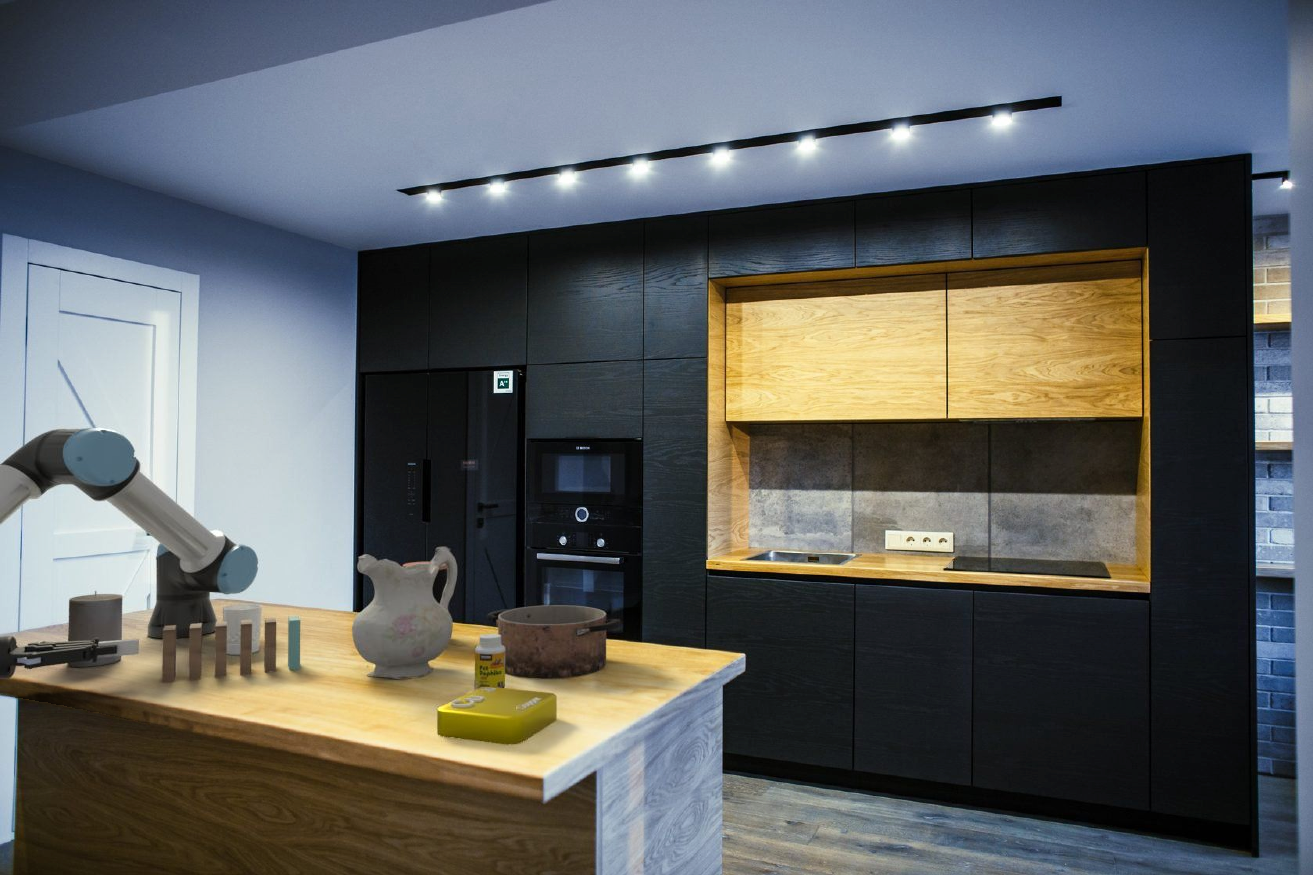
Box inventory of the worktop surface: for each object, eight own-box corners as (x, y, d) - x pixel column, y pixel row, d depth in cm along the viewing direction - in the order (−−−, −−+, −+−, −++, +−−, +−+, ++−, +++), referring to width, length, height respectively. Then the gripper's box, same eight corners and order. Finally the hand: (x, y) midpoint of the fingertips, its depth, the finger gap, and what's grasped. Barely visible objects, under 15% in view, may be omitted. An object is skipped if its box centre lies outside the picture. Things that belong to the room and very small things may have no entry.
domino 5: (264, 667, 179) (264, 618, 179) (274, 665, 179) (275, 617, 180) (265, 672, 174) (265, 622, 174) (275, 671, 175) (276, 621, 175)
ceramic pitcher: (416, 660, 189) (410, 546, 191) (483, 664, 179) (476, 543, 181) (333, 683, 170) (327, 556, 172) (403, 688, 161) (396, 554, 162)
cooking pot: (640, 661, 184) (640, 611, 184) (588, 687, 164) (588, 630, 164) (522, 648, 197) (522, 601, 197) (460, 670, 176) (460, 617, 177)
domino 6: (287, 664, 181) (288, 616, 181) (298, 663, 181) (298, 615, 182) (289, 670, 176) (289, 620, 176) (299, 668, 177) (300, 619, 177)
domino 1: (164, 676, 171) (164, 625, 171) (175, 675, 172) (176, 624, 172) (162, 682, 166) (162, 630, 166) (174, 681, 167) (174, 629, 167)
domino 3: (215, 671, 175) (215, 621, 175) (226, 670, 176) (226, 621, 176) (214, 677, 170) (215, 626, 170) (226, 676, 171) (226, 625, 171)
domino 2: (190, 674, 173) (190, 623, 173) (201, 673, 174) (201, 623, 174) (188, 679, 168) (189, 628, 168) (200, 678, 169) (201, 627, 169)
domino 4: (240, 669, 177) (240, 620, 177) (250, 668, 177) (251, 619, 178) (240, 674, 172) (240, 624, 172) (251, 673, 173) (251, 623, 173)
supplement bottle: (474, 696, 157) (475, 639, 157) (474, 688, 162) (474, 633, 162) (506, 694, 158) (506, 638, 158) (504, 686, 163) (504, 632, 164)
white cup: (268, 648, 196) (269, 603, 196) (248, 656, 188) (249, 610, 188) (235, 647, 197) (236, 603, 197) (214, 655, 189) (215, 609, 189)
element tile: (517, 747, 130) (517, 715, 130) (431, 737, 135) (432, 706, 135) (561, 719, 144) (561, 690, 144) (482, 710, 149) (482, 682, 149)
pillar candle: (57, 664, 181) (58, 592, 181) (105, 654, 190) (106, 586, 190) (84, 669, 176) (85, 595, 177) (132, 659, 185) (133, 589, 185)
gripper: (-5, 671, 162) (141, 658, 172) (-24, 688, 150) (134, 673, 161) (-4, 631, 162) (142, 621, 173) (-23, 645, 151) (134, 633, 161)
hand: (138, 646), depth 167 cm, fingers closed
